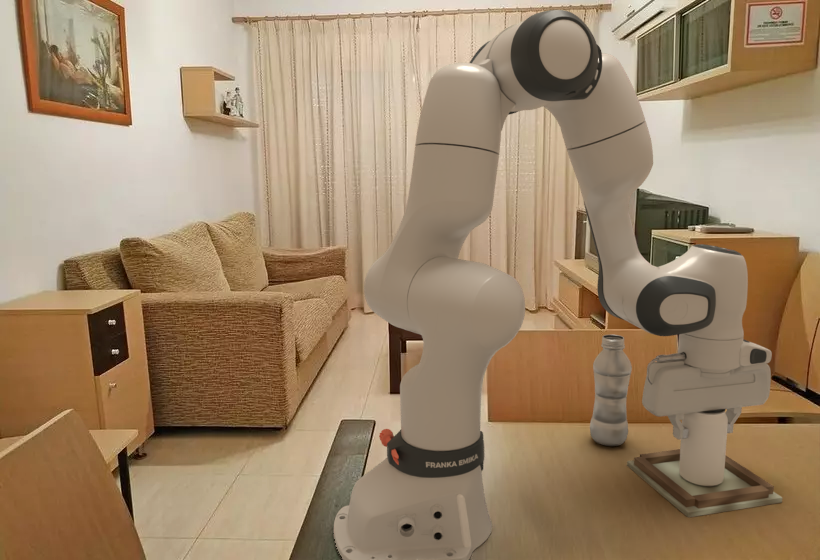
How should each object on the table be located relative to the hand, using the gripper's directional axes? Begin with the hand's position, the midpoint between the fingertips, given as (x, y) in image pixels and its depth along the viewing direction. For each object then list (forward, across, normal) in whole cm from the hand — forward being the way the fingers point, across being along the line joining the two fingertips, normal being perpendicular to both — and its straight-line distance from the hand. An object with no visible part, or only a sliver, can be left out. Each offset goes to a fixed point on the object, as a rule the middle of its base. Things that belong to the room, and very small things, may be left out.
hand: (702, 434), depth 98 cm
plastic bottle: (+8, -6, +17) cm, 20 cm away
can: (+8, 0, 0) cm, 8 cm away
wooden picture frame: (+8, 0, 0) cm, 8 cm away
